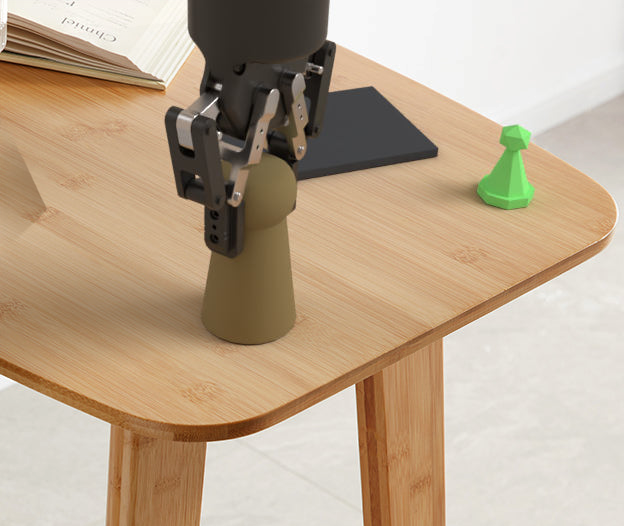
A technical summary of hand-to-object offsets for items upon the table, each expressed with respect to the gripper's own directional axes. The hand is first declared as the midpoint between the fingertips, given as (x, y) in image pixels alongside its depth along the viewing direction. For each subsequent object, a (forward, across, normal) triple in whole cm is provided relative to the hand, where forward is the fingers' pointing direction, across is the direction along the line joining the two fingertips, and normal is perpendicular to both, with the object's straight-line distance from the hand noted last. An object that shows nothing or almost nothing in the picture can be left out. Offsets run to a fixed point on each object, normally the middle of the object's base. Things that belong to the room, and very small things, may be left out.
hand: (251, 229), depth 68 cm
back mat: (+7, -24, -9) cm, 26 cm away
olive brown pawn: (+7, 0, 0) cm, 7 cm away
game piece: (+7, -24, +7) cm, 26 cm away
